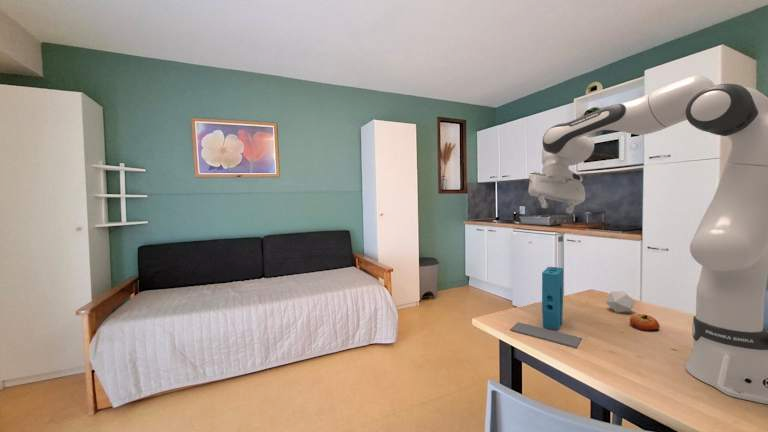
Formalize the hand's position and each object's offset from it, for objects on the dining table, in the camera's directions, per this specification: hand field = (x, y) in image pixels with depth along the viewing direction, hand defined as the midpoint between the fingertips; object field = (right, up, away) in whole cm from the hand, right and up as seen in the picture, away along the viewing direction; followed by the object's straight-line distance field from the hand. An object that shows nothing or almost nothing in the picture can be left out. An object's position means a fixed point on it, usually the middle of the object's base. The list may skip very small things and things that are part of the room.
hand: (557, 210), depth 110 cm
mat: (-9, -42, -8) cm, 44 cm away
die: (+32, -41, +11) cm, 53 cm away
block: (-2, -42, 0) cm, 42 cm away
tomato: (+28, -42, -4) cm, 50 cm away
